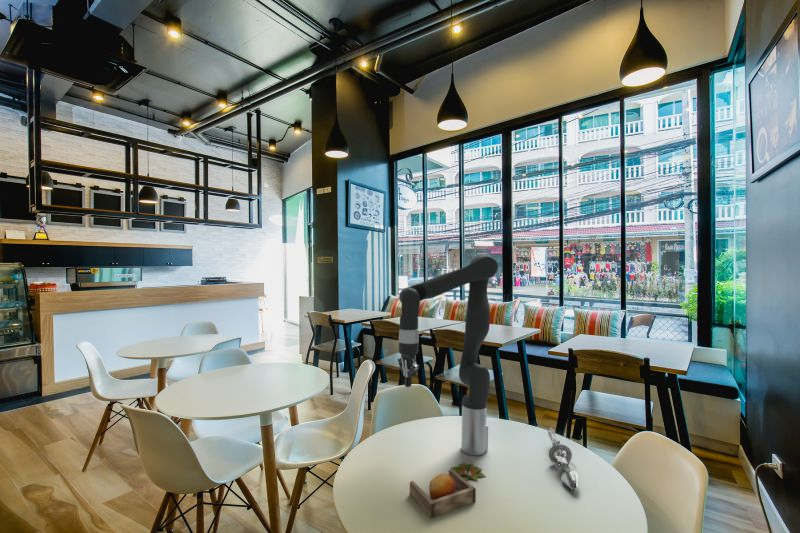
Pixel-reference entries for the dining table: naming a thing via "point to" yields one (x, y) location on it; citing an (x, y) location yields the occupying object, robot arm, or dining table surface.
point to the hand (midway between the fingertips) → (407, 386)
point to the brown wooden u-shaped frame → (445, 497)
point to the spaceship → (563, 461)
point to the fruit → (441, 486)
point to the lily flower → (468, 467)
